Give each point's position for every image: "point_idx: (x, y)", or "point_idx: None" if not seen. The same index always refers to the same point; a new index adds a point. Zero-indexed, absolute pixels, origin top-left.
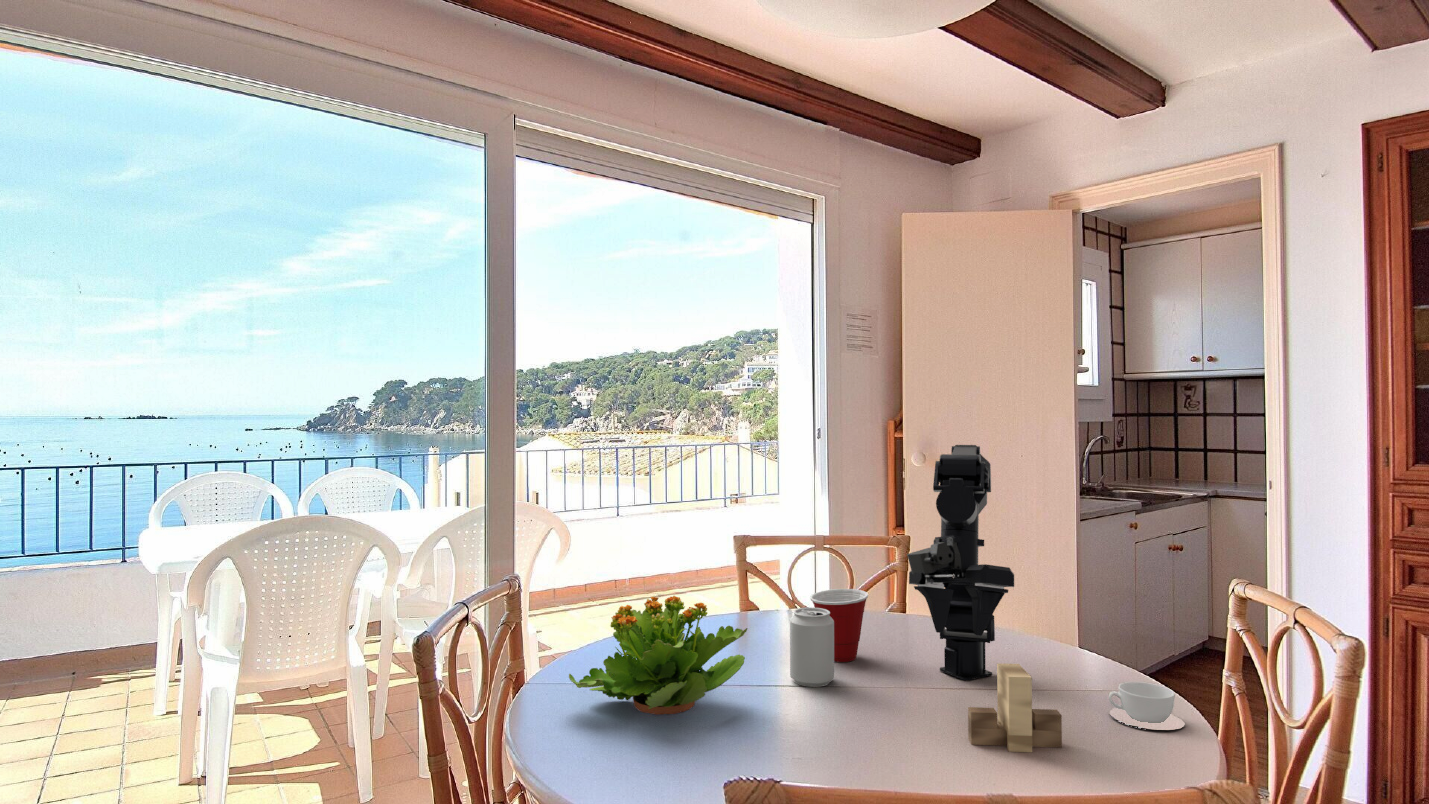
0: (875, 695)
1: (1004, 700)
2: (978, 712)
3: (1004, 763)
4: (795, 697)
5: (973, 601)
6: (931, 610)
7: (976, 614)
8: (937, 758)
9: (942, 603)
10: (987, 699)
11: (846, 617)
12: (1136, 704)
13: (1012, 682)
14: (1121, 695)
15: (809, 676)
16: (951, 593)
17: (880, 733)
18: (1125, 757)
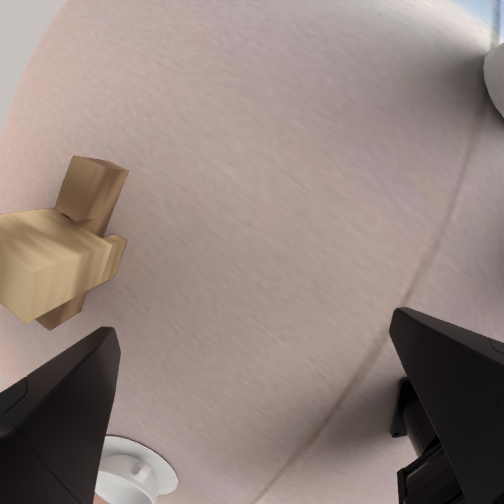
0: (420, 142)
1: (36, 227)
2: (67, 170)
3: (45, 171)
4: (441, 12)
5: (8, 417)
6: (478, 341)
7: (38, 370)
8: (93, 78)
9: (467, 423)
10: (298, 357)
11: None
12: (104, 463)
13: None
14: (127, 473)
15: (492, 53)
16: (470, 498)
17: (219, 31)
18: (34, 345)
